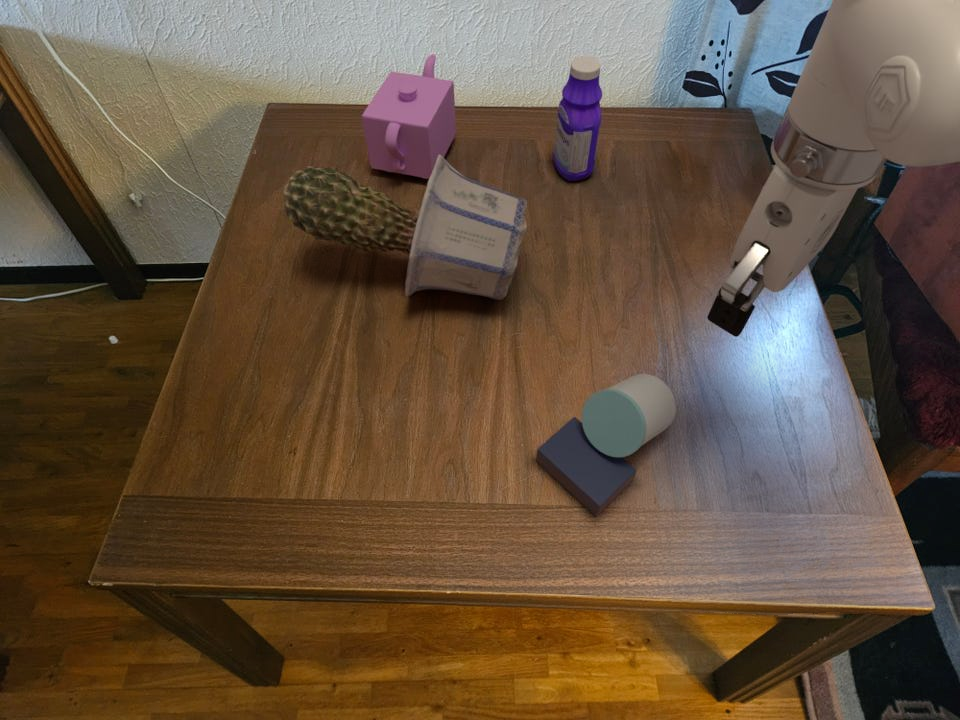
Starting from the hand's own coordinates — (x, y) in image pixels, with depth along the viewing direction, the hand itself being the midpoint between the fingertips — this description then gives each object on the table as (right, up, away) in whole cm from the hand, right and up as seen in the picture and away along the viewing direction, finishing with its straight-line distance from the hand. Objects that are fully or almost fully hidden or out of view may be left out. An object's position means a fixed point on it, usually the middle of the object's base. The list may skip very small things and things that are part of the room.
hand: (751, 296), depth 59 cm
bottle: (-11, +24, +41) cm, 49 cm away
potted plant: (-34, +6, +29) cm, 45 cm away
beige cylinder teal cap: (-9, -15, +14) cm, 22 cm away
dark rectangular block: (-14, -18, +11) cm, 26 cm away
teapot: (-35, +28, +44) cm, 63 cm away
